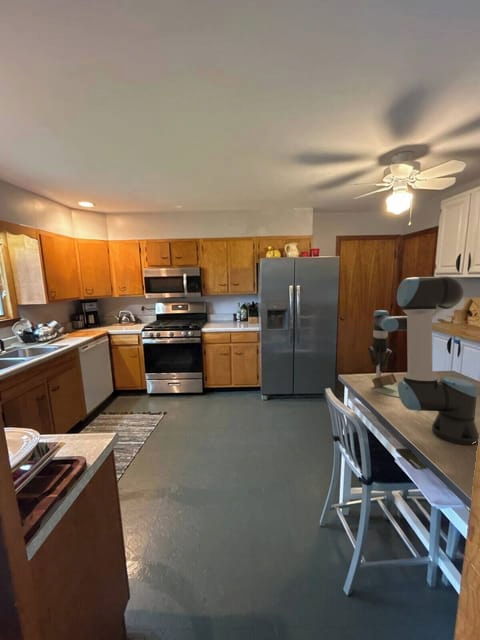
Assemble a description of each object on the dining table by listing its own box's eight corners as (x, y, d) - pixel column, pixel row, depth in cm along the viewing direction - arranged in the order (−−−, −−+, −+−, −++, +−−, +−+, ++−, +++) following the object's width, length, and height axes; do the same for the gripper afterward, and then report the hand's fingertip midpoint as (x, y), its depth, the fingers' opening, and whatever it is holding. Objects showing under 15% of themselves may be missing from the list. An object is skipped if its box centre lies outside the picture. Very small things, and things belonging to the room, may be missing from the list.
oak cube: (391, 384, 170) (392, 376, 170) (382, 382, 173) (382, 375, 173) (393, 382, 174) (393, 374, 174) (384, 380, 177) (384, 372, 177)
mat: (398, 397, 151) (398, 396, 151) (372, 390, 162) (372, 389, 162) (409, 390, 160) (409, 389, 160) (384, 384, 171) (384, 383, 171)
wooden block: (375, 387, 165) (393, 384, 157) (371, 379, 167) (389, 375, 158) (379, 385, 168) (397, 381, 160) (375, 377, 170) (393, 373, 161)
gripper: (395, 337, 159) (393, 377, 163) (372, 334, 170) (370, 372, 173) (389, 339, 155) (387, 380, 158) (365, 336, 165) (364, 375, 168)
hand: (378, 376), depth 166 cm, fingers closed
